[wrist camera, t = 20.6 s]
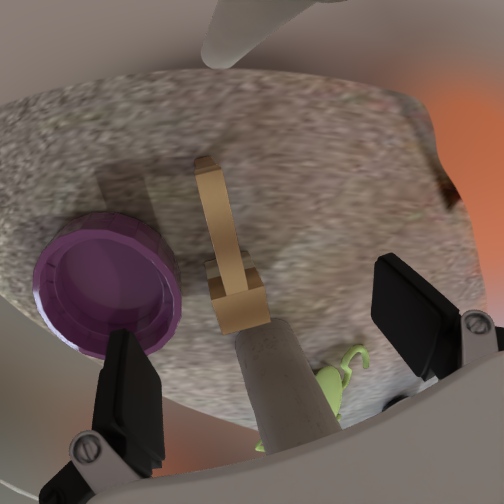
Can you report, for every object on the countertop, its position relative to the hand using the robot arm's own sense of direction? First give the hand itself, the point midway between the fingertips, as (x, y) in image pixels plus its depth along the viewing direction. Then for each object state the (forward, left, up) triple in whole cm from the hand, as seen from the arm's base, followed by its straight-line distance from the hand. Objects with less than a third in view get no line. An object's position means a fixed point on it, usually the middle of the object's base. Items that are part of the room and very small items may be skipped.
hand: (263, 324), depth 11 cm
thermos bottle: (+22, +2, -20) cm, 30 cm away
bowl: (+7, -13, -20) cm, 25 cm away
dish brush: (+5, 0, -20) cm, 21 cm away
